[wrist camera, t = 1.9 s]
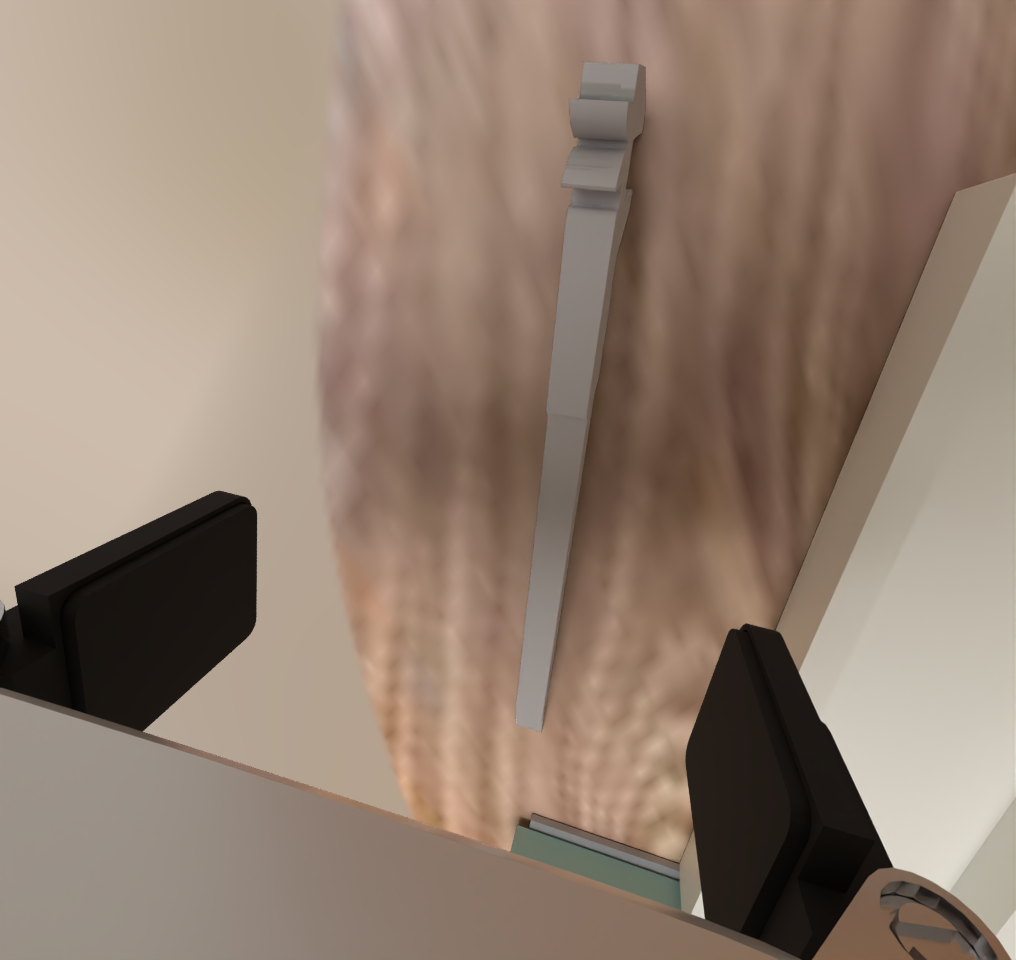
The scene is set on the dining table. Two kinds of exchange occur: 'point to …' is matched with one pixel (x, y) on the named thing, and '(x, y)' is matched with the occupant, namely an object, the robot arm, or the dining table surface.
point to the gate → (596, 867)
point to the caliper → (578, 346)
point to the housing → (920, 585)
